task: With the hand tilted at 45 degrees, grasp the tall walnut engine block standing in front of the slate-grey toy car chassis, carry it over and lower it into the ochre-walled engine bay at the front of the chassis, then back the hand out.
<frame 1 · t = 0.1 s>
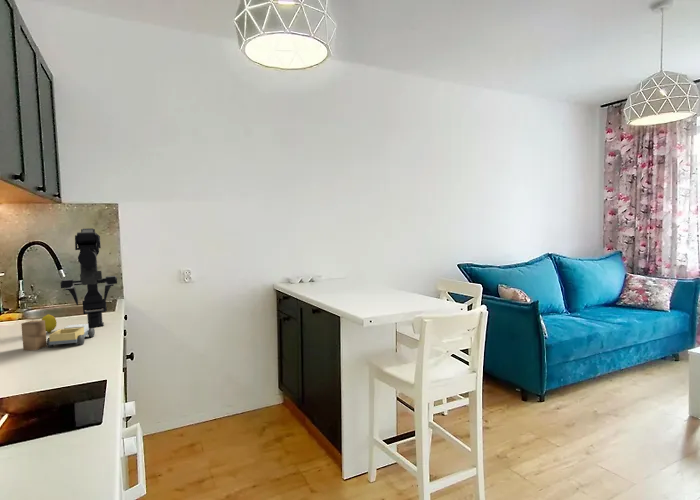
hand: (91, 303, 167), 15 cm above the countertop, tool pointing down, fingers open, 9 cm apart
walnut block: (35, 348, 159), on the countertop
toy chassis: (72, 341, 167), on the countertop
lemon: (49, 333, 183), on the countertop
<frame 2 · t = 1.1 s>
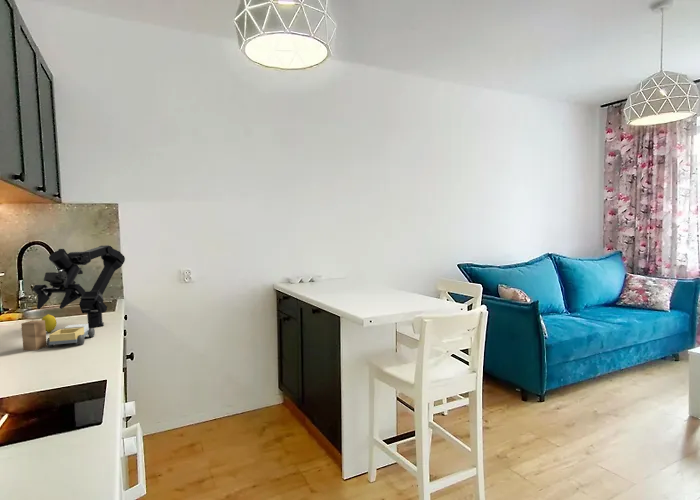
hand: (49, 308, 166), 13 cm above the countertop, tool tilted 45°, fingers open, 9 cm apart
nothing on the countertop moved.
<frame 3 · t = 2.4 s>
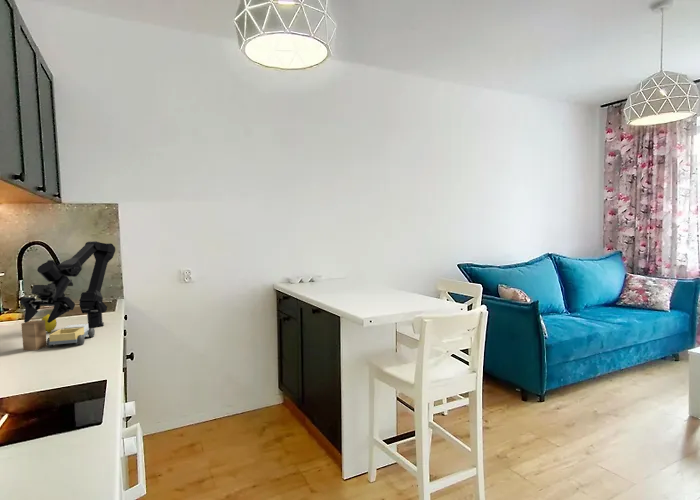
hand: (36, 322, 160), 9 cm above the countertop, tool tilted 45°, fingers open, 9 cm apart
nothing on the countertop moved.
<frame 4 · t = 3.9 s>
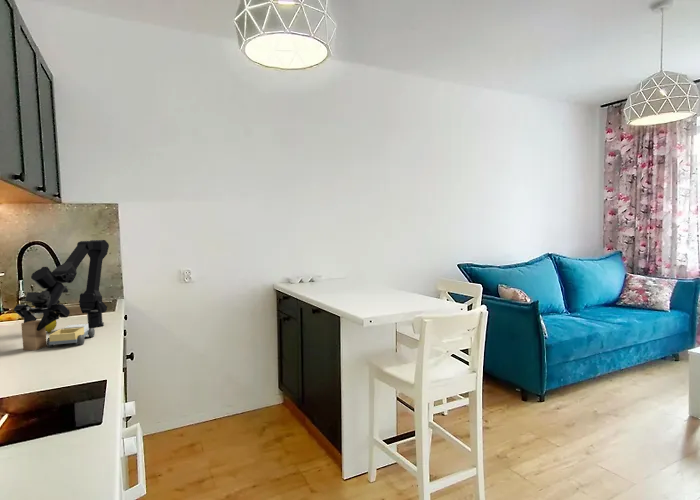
hand: (30, 330, 157), 7 cm above the countertop, tool tilted 45°, fingers closed on walnut block, 5 cm apart
walnut block: (35, 348, 159), on the countertop, touching gripper
everything else where it was.
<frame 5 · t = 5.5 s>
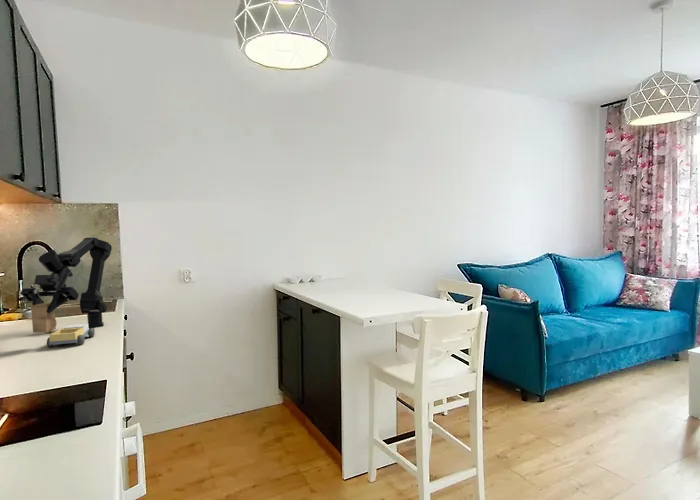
hand: (40, 312, 158), 13 cm above the countertop, tool tilted 45°, fingers closed on walnut block, 5 cm apart
walnut block: (44, 330, 160), point 6 cm above the countertop, touching gripper
everything else where it was.
when the fingers open (10 cm above the countertop, at t = 7.2 s): walnut block stays where it is, resting on toy chassis.
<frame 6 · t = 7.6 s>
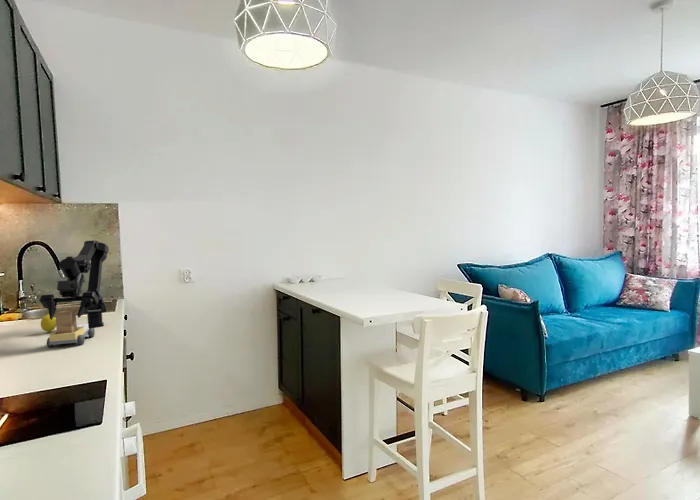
hand: (64, 318, 161), 11 cm above the countertop, tool tilted 45°, fingers open, 9 cm apart
walnut block: (67, 337, 163), point 3 cm above the countertop, touching toy chassis
everything else where it was.
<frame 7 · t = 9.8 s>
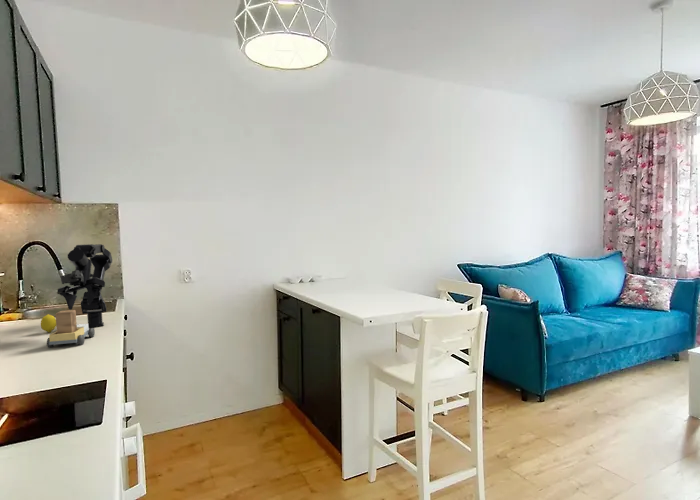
hand: (79, 306, 173), 12 cm above the countertop, tool tilted 30°, fingers open, 9 cm apart
nothing on the countertop moved.
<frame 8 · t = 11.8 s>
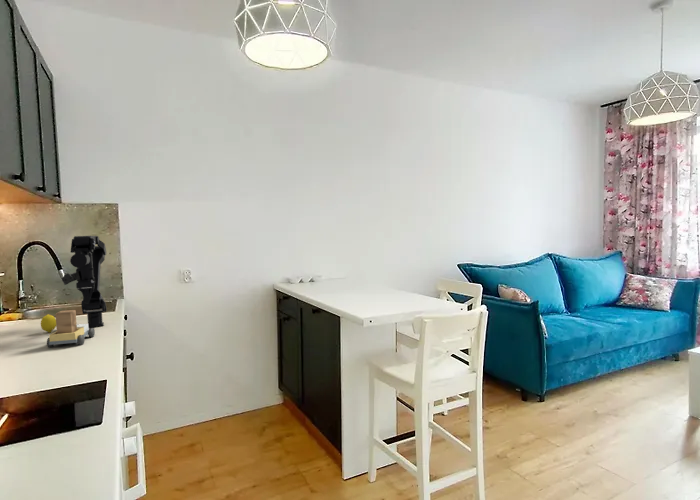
hand: (87, 302, 180), 13 cm above the countertop, tool pointing down, fingers open, 9 cm apart
nothing on the countertop moved.
at the end: walnut block 0.1 cm from the target spot on the toy chassis, point 2.7 cm above the toy chassis's base; walnut block tilted 0°; the gripper is holding nothing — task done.
